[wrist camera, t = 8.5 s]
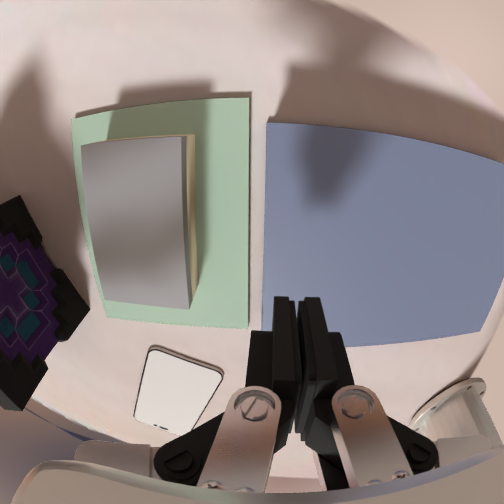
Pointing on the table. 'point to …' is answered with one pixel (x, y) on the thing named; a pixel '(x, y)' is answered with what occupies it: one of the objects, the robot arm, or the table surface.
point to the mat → (206, 200)
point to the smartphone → (174, 391)
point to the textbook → (381, 232)
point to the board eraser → (143, 218)
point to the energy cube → (30, 306)
